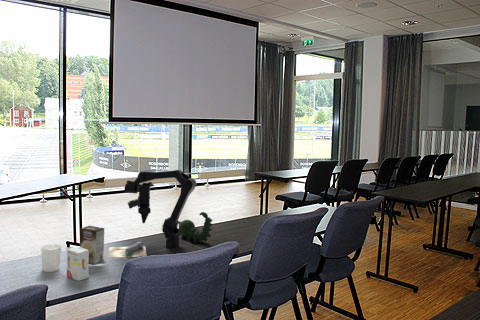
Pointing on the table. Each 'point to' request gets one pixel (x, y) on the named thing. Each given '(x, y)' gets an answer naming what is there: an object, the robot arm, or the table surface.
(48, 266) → the white cup
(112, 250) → the dial board
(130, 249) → the grey long bar
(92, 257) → the coffee box
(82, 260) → the ink box
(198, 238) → the toy figurine
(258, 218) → the table surface
